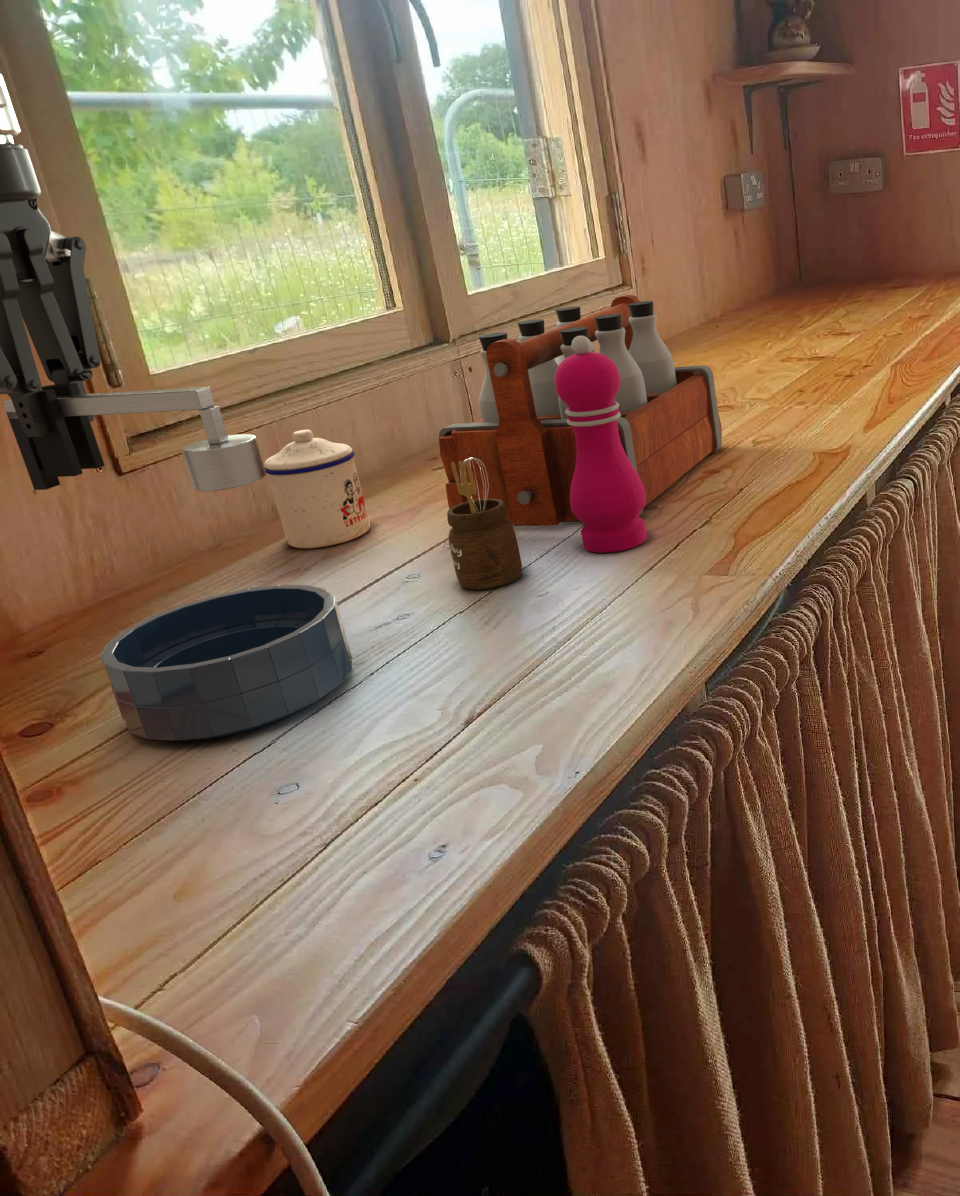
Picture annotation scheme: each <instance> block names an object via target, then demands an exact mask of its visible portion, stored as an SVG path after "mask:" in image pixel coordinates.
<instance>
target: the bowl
mask: <svg viewBox="0 0 960 1196" xmlns="http://www.w3.org/2000/svg"><path fill="white" fill-rule="evenodd" d="M99 657H100V660H101V663H102V666H103V668H104V671H105V675H106V677H107V679H108V682H109V685H110V689H111V691H112V694H113V696H114V699H115V701H116V704H117V707H118V710H119V712H120V715H121V718H122V720H123V723H124V724H125V726H126V728H127V731H128V732H129V733H130V734H133V735H136V736H139V737H141V738H144V739H147V740H158V741H160V740H161V741H199V740H200V741H202V740H210V739H217V738H224V737H229V736H233V735H239V734H242V733H246V732H249V731H254V730H256V729H260V728H263V727H266V726H269V725H271V724H274V723H277V722H279V721H281V720H284V719H286V718H289V717H291V716H292V715H294V714H297V713H299V712H301V711H303V710H304V709H307V708H308V707H309V706H311V705H313V704H314V703H316V702H317V701H319V700H320V699H321V698H323V697H324V696H326V695H327V694H330V692H331V691H333V690H334V689H335V688H338V686H340V685H341V684H342V683H343V682H344V681H345V679H346V678H347V677H348V675H350V673H351V671H353V656H352V652H351V649H350V645H349V641H348V638H347V634H346V630H345V628H344V624H343V619H342V616H341V612H340V609H339V604H338V602H337V598H336V596H335V595H334V594H333V593H331V592H330V591H329V590H327V589H326V588H323V587H318V586H312V585H308V584H277V585H268V586H258V587H250V588H245V589H239V590H234V591H230V592H229V591H228V592H225V593H220V594H216V595H212V596H207V597H205V598H201V599H198V600H195V601H190V602H188V603H184V604H181V605H177V606H175V607H173V608H170V609H168V610H165V611H162V612H160V613H157V614H154V615H152V616H150V617H148V618H146V619H143V620H142V621H140V622H138V623H136V624H134V625H132V626H130V627H128V628H126V629H124V630H122V631H121V632H120V633H119V634H117V635H116V636H114V638H112V639H111V640H110V641H108V642H107V643H106V644H105V646H104V648H103V650H102V652H101V654H100V656H99Z"/></svg>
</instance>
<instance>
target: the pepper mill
mask: <svg viewBox="0 0 960 1196" xmlns="http://www.w3.org/2000/svg"><path fill="white" fill-rule="evenodd" d="M571 346H572V349H573V351H574V352H575V353H576V354H574V355H571V356H569V357H567V358H566V359H564V360H563V361H562V362H561V363H560V364H559V366H558V367H557V369H556V373H555V389H556V392H557V394H558V396H559V397H560V398H561V399H562V400H563V401H564V402H565V403H566V404H567V405H568V407H569V408H567V409H566V411H565V413H566V415H568V416H567V418H568V420H567V423H568V424H569V425H571V426H572V427H573V431H574V435H575V439H576V449H577V455H576V465H575V470H574V474H573V478H572V482H571V487H570V505H571V510H572V512H573V514H574V515H575V516H576V517H577V518H578V519H579V520H580V521H581V522H580V523H582V524H584V526H583V527H581V529H580V537H581V543H582V548H583V549H585V550H586V551H587V552H590V553H595V554H596V553H597V554H609V553H611V554H612V553H619V552H623V551H627V550H630V549H634V548H635V547H638V546H640V545H642V544H643V543H644V542H646V540H647V538H648V534H647V528H646V522H645V520H644V519H643V518H641V517H640V515H641V514H640V512H641V510H642V509H643V510H644V508H645V507H644V505H645V502H646V495H645V491H644V487H643V484H642V482H641V480H640V477H639V475H638V473H637V472H636V470H635V469H634V467H633V466H632V464H631V462H630V461H629V459H628V457H627V455H626V454H625V452H624V449H623V447H622V444H621V441H620V437H619V433H618V425H617V419H618V418H620V416H621V414H620V412H619V409H618V407H619V403H618V402H616V401H614V398H615V396H616V394H617V393H618V391H619V388H620V375H619V372H618V369H617V367H616V365H615V364H614V363H613V361H612V360H611V359H610V358H608V357H607V356H605V355H603V354H600V353H599V352H596V351H595V352H589V351H590V349H591V342H590V340H589V339H588V338H587V337H585V336H577V337H575V338H574V339H573V341H572V345H571ZM643 507H644V508H643ZM639 514H640V515H639ZM638 515H639V516H638Z"/></svg>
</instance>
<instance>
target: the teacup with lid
mask: <svg viewBox="0 0 960 1196" xmlns="http://www.w3.org/2000/svg"><path fill="white" fill-rule="evenodd" d="M291 436H292V439H293V441H292V442H289V443H288V444H286V445H285V446H283V448H281V450H280V451H278V452H277V453H275V454H274V455H272V456H270V457H268V458H267V459H266V460H265V461H264V462H263V464H264V468H265V471H266V475H267V477H268V481H269V484H270V488H271V491H272V495H273V498H274V502H275V506H276V508H277V512H278V515H279V519H280V523H281V526H282V529H283V533H284V536H285V540H286V543H287V544H288V545H289V546H290V547H292V548H295V549H317V548H323V547H324V548H326V547H330V546H336V545H338V544H343V543H346V542H349V541H351V540H354V539H357V538H358V537H360V536H363V535H364V534H366V533H367V532H368V531H369V530H370V528H371V521H370V517H369V514H368V510H367V506H366V501H365V499H364V494H363V489H362V486H361V483H360V479H359V475H358V471H357V467H356V464H355V460H354V457H355V451H354V450H353V448H352V447H351V446H350V445H348V444H346V443H342V442H341V443H340V442H333V441H329V440H327V439H326V438H322V437H314V433H313V431H312V430H311V429H300V430H296V431H294V432H292V435H291Z"/></svg>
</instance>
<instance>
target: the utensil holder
mask: <svg viewBox="0 0 960 1196" xmlns="http://www.w3.org/2000/svg"><path fill="white" fill-rule="evenodd" d="M468 459H470V458H468ZM468 459H466V460H464V461H466V462H465V464H466V466H467V470H468V473H469V477H470V481H471V483H468V482H467V478H466V472H464V468H463V465H464V463H463V462H464V461H463V462H461V461H459V462H458V464H459V468H460V471H461V473H460V477H461V475H462V479H463V483H464V484H460V481H459V477H458V473H457V470H456V466H455V463H454V462H452V463H451V466H452V470H453V473H454V477H455V481H456V485H457V488H458V492H459V494H461V495H464V496H467V498H468V502H465V503H461V504H459V505H456V506H454V507H452V508H451V509H449V508H448V510H447V523H448V526H449V527H451V528H450V530H449V532H448V544H449V551H450V555H451V559H452V564H453V567H454V571H455V575H456V579H457V581H458V583H459V585H460V586H461V587H462V588H464V589H466V590H474V591H475V590H476V591H477V590H490V589H494V588H499V587H503V586H505V585H508V584H511V583H513V582H514V581H516V580H517V579H518V578H519V577H521V575H522V573H523V565H522V564H523V563H522V557H521V552H520V548H519V543H518V538H517V534H516V530H515V526H514V524H513V523H511V522H510V520H508V519H507V518H505V517H506V516H507V509H506V506H505V504H504V502H503V501H502V500H499V499H484V498H483V499H480V498H479V500H473V499H472V498H471V497H472V496H471V495H472V494H474V493H475V492H476V490H477V489H476V485H475V481H474V477H473V473H472V470H471V466H470V462H469V460H468ZM472 459H474V460H475V459H476V460H477V458H472ZM472 459H471V460H472ZM478 460H479V459H478ZM462 463H463V464H462ZM472 463H473V461H472ZM477 463H478V462H477ZM480 464H481V463H480ZM478 465H479V464H478ZM483 465H484V464H483ZM481 466H482V465H481ZM473 467H474V465H473ZM479 467H480V466H479ZM484 467H485V466H484ZM482 469H483V467H482ZM485 470H486V469H485ZM480 471H481V469H480ZM474 472H475V469H474ZM483 473H484V471H483ZM481 475H482V473H481ZM486 475H487V473H486ZM475 477H476V474H475ZM484 478H485V475H484ZM482 480H483V478H482ZM487 480H488V477H487ZM476 482H477V479H476ZM461 483H462V480H461ZM485 485H486V481H485ZM477 488H478V485H477ZM483 488H484V483H483ZM488 490H489V484H488ZM478 494H479V491H478ZM475 495H476V493H475ZM487 497H488V494H487ZM485 498H486V493H485ZM476 499H477V497H476ZM472 500H473V501H472Z"/></svg>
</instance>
